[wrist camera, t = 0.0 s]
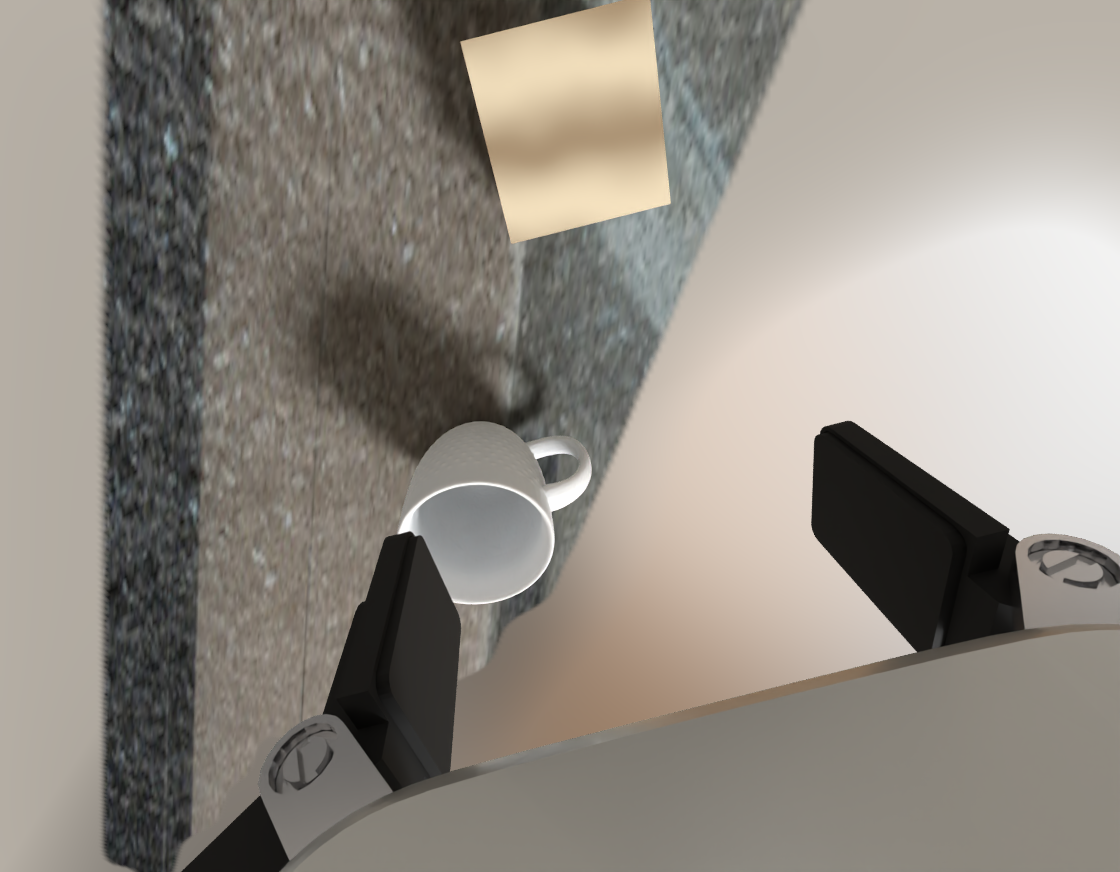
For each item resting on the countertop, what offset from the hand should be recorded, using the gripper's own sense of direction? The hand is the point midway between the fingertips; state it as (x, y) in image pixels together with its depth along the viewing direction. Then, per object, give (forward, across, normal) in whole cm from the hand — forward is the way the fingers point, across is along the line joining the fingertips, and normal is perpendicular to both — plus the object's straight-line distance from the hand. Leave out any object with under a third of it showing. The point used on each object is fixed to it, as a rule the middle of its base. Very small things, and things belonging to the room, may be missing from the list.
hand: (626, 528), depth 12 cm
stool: (+31, -4, -9) cm, 33 cm away
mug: (+31, +7, +14) cm, 35 cm away
